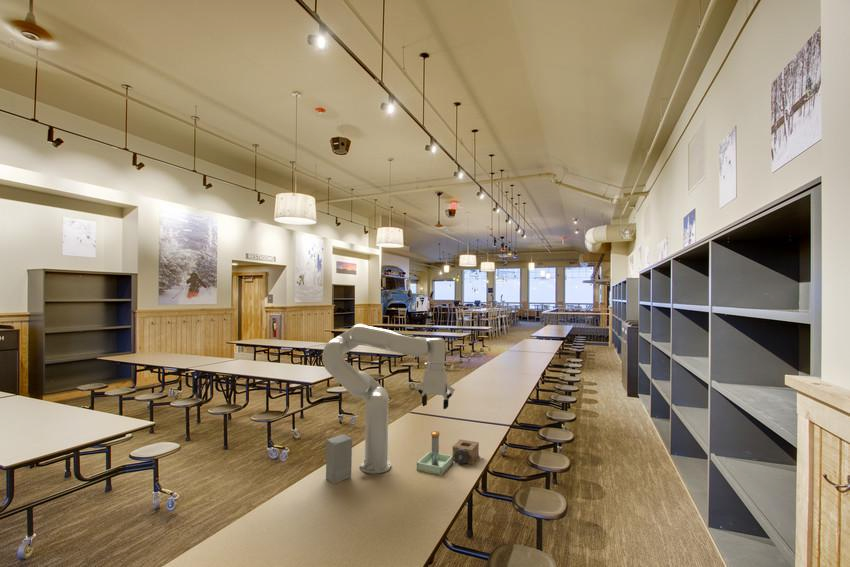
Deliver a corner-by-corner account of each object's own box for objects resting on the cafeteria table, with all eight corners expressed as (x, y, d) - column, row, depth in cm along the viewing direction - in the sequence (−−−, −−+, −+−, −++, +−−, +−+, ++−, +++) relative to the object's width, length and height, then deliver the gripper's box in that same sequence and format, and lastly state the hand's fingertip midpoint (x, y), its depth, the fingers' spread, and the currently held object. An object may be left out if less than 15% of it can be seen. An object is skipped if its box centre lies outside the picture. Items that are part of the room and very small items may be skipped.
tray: (441, 475, 155) (441, 467, 155) (416, 469, 160) (416, 462, 160) (452, 462, 167) (452, 455, 167) (429, 458, 172) (429, 451, 172)
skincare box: (342, 472, 157) (343, 433, 158) (352, 478, 152) (353, 437, 152) (324, 479, 151) (325, 438, 152) (334, 485, 146) (334, 442, 146)
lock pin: (437, 467, 161) (437, 434, 162) (429, 465, 163) (429, 433, 163) (440, 464, 164) (440, 432, 165) (432, 462, 166) (433, 430, 166)
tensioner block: (470, 466, 164) (470, 452, 164) (450, 462, 167) (450, 448, 168) (478, 455, 175) (478, 442, 175) (459, 452, 179) (460, 439, 179)
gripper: (414, 366, 166) (413, 406, 165) (451, 369, 158) (450, 411, 158) (421, 363, 172) (420, 402, 172) (457, 367, 165) (456, 407, 164)
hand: (434, 406), depth 165 cm, fingers open, 9 cm apart
